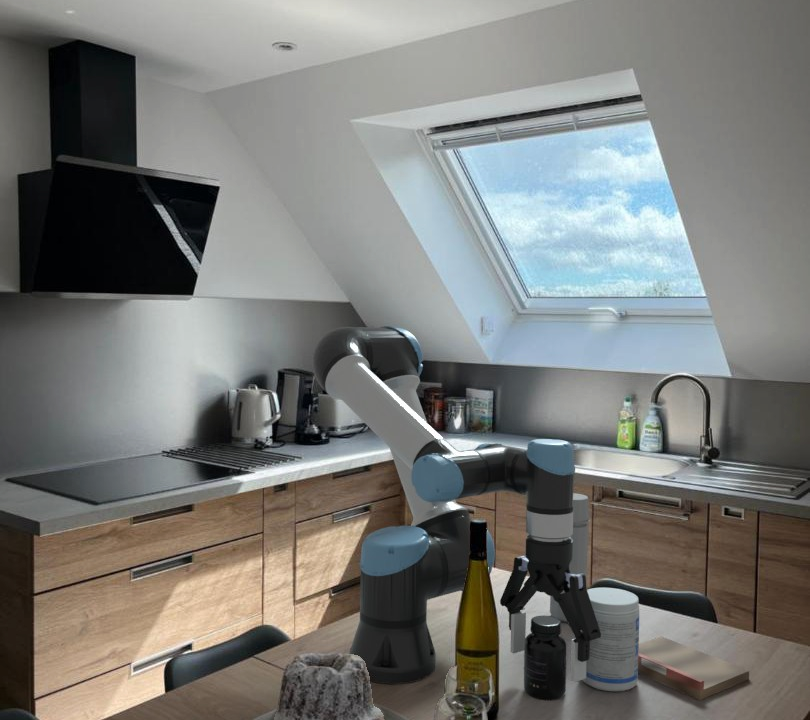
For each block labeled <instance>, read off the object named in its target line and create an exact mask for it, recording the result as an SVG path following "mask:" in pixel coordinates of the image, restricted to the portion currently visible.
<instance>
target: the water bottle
mask: <svg viewBox="0 0 810 720" xmlns="http://www.w3.org/2000/svg"><path fill="white" fill-rule="evenodd" d="M589 501H590V500H589V497H588V495H585V494H581V493H576V492H575V493H574V492H573V534H572V535H571V536H570V537H571V539H572V540H573V558H572V561H571V562H570V565H569V570H570V573H571V574H575V575H578V574H582V573H583V574H584V575H585V576H586V584H588V583H587V581H588V580H587V578H588V577H587V576H588V575H587V574H588V553H589V552H588V550H589V544H588V543H589V524H588V523H591V519H590V517H591V515H590V505H589V504H590V503H589ZM562 593H565V591H564V590H563V591H562ZM562 593H560V594H562ZM549 597H550V599H549V601H550V602H549V613H550V615H551V616H552V617H555V618H557V619H559V620H560V622H564V623H568V622H567V620H566V618H565V616H564V614H563V612H562V610H561V607H560V605H559V603H558V602H556V601H555V600H554V598H553V596H549Z"/></svg>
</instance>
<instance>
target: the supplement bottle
mask: <svg viewBox="0 0 810 720" xmlns="http://www.w3.org/2000/svg"><path fill="white" fill-rule="evenodd" d="M561 622H562V621H560V620H559V619H557V618H555V617H552V615H551V616H550V615H546V614H545V615H536V616H534V617H532V618H531V620H530V630H529V631H530V633H529V634H527V636H525V644H524V651H523V652H524V653H523V657H524V659H523V689H524V691H525V693H526V695H529V697H531V698H534V699H536V700H541V701H554V700H556V701H557V700H559V699H561V698H563V697H564V695H565V694H566V691H567V654H568V653H567V651H568V650H567V647H568V646H567V642H566V639H565V638H564V637H563V636H562V627H561V626H562V625H561V624H562V623H561Z"/></svg>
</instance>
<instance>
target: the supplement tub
mask: <svg viewBox="0 0 810 720" xmlns="http://www.w3.org/2000/svg"><path fill="white" fill-rule="evenodd" d="M587 592H588V595H589V598H590V601H591V604H592V607H593V610H594V614H595V617H596V620H597V623H598V626H599V629H600V632H601V637H600V638H597V639H594V640H591V641H590V653H589V654H590V656H589V660H587V661H586V678H585V679H582V680H581V681H583V683H586V684H587V686H590V687H593V688H594V689H596V690H599V691H605V692H606V691H607V692H625V691H628V690H631V689H633V688H634V687H635V686H636V685H637V683H638V679H639V673H638V650H639V644H640V643H639V642H640V641H639V639H640V605H639V604H640V603H639V602H640V601H639V597H638V595H636V594H635V593H633V592H630V591H628V590H625V589H621V588H614V587H593V588H589V589H587ZM581 633H582V630H581Z"/></svg>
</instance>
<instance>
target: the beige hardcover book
mask: <svg viewBox="0 0 810 720" xmlns="http://www.w3.org/2000/svg"><path fill="white" fill-rule="evenodd" d="M638 674H640V675H642V676H645V677H646V678H649V679H650V680H653V681H656V682H658V683H660V684H662V685H665V686H667V687H669V688H672V689H674V690H676V691H678V692H681V693H682V694H684V695H687V696H689V697H692V698H694V699H697V701H701V700H703V699H705V698H708V697H710V696H712V695H715V694H717V693H720V692H722V691H724V690H727V689H729V688H732V687H734V686H736V685H739V684H742V683H744V682H746V681H748V680H750V670H748V669H745V668H743V667H740V666H738V665H736V664H733V663H730V662H728V661H725V660H724V659H720V658H718V657H715V656H713V655H711V654H710V655H709V654H708V653H705V652H703V651H701V650H697V649H695V648H692V647H690V646H686V645H685V644H682V643H679V642H677V641H674V640H671V639H669V638H667V637H664V636H659V637H657V638H653V639H650V640H647V641H644V642H641V643H639V650H638Z"/></svg>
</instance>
